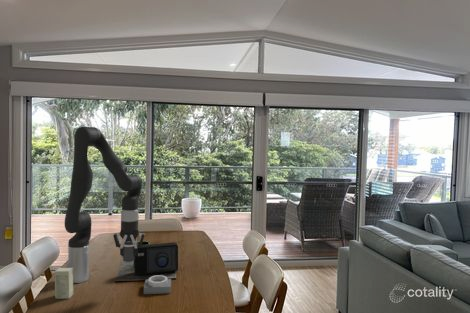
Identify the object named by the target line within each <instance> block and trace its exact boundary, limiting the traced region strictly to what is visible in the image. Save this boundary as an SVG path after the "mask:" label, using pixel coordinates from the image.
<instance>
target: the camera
mask: <svg viewBox="0 0 470 313" xmlns="http://www.w3.org/2000/svg"><path fill="white" fill-rule="evenodd" d="M133 262H134V275H135V276H143V275H153V274H155V275H156V274H161V273H173V272H177V271H178V270H179V245H178V243H177V242H175V241H173V242H163V243H162V242H161V243H150V244H142V246H141V247H138V253H137V255H136V256H134V261H133Z"/></svg>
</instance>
